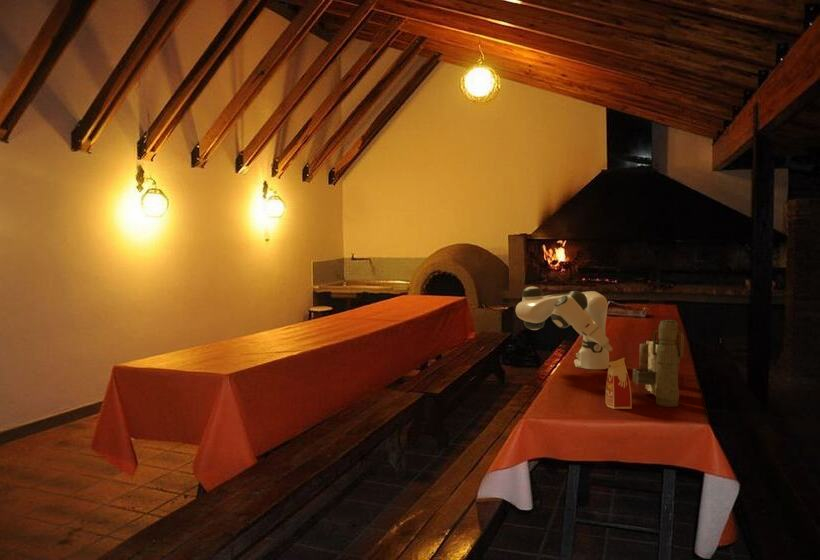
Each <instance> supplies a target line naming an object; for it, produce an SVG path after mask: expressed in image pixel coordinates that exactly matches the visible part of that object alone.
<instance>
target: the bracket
mask: <svg viewBox="0 0 820 560" xmlns="http://www.w3.org/2000/svg"><path fill="white" fill-rule="evenodd" d="M646 344H648V372H639V368H632V382H634V383H635V384H637V385H638V386H645V390H646V389H647V390H646V391H647V392H649V391H650V393H651V394H652V395H653V396H655V397H656V388H657V372H658V363H657V361H656V359H657V357H656V355H653V342H651V341H646ZM657 347H658V345H657V344H656V352H657ZM656 352H655V353H656Z"/></svg>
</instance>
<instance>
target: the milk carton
mask: <svg viewBox="0 0 820 560" xmlns="http://www.w3.org/2000/svg"><path fill="white" fill-rule="evenodd" d="M625 359H626V358H625V357H622V358H619V359H617V360H612V361H609V362H607V363H608V364H609V367H608V368H607V373H606V374H607V375H606V382H605V383H606V385H605V404H606V406H607V407H608V408H611V409H614V410H620V409H623V410H625V409H627V410H629V409H631V410H632V401H633V399H632V387H631V382H630V376H629V374H628V370H627V366H626V363H625Z"/></svg>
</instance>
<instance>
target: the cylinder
mask: <svg viewBox="0 0 820 560" xmlns="http://www.w3.org/2000/svg"><path fill="white" fill-rule="evenodd" d="M638 348H639V355H638V356H639V357H638V360H639V361H638V366H639V367H638V369H639V372H648V344H645V343H639V347H638Z"/></svg>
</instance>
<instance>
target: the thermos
mask: <svg viewBox="0 0 820 560" xmlns="http://www.w3.org/2000/svg"><path fill="white" fill-rule="evenodd" d="M657 334H658V340H659V342H658V347H657V352H656V340H657ZM652 337H653V355H656V357H657V359H656V361H657V363H658V372H657V388H656V396H655V399H656V400H655V404H656V405H657V406H660V407H667V408H675V407H679V400H680V390H679V364H680V362H681V361H680V360H681V359H682V358H683V357H684V350H685V349H684V346H685V335H684V334H683V332H680V331H679V324H678V321H677V320H675V319H669V318H668V319H666V318H665V319H662V320H660V323H659V324H658V330H655V331H654V332H653V333H652ZM679 337H680V346H679ZM655 352H656V353H655Z"/></svg>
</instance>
